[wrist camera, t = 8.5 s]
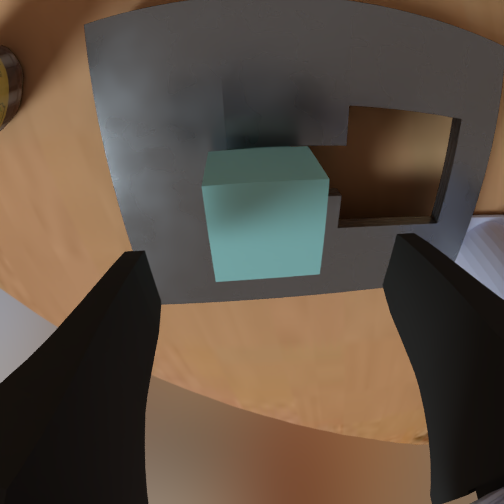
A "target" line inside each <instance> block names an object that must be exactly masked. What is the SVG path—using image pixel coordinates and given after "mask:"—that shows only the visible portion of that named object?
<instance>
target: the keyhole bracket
mask: <svg viewBox="0 0 504 504" xmlns="http://www.w3.org/2000/svg"><path fill="white" fill-rule="evenodd" d="M84 29H85V39H86V47H87V55H88V63H89V70H90V76H91V83H92V89H93V94H94V100H95V106H96V111H97V116H98V121H99V126H100V131H101V135H102V140H103V145H104V149H105V153H106V157H107V162H108V166H109V170H110V174H111V178H112V181H113V185H114V189H115V193H116V196H117V200H118V204H119V207H120V211H121V214H122V217H123V221H124V224H125V227H126V231H127V234H128V237H129V240H130V243H131V246H132V250H133V251H142V250H145V252H146V256H147V259H148V262H149V265H150V269H151V272H152V275H153V278H154V281H155V284H156V287H157V290H158V293H159V296H160V299H161V304H186V303H206V302H224V301H240V300H255V299H268V298H281V297H294V296H305V295H316V294H327V293H337V292H347V291H356V290H366V289H375V288H383V285H382V284H383V281H384V278H385V275H386V271H387V268H388V264H389V261H390V257H391V254H392V250H393V247H394V243H395V239H396V235H397V234H404V233H415V234H417V235H418V236H420V237H421V238H423V239H424V240H426V241H427V242H429V243H430V244H432V245H433V246H434V247H436V248H437V249H438V250H440V251H441V252H442V253H444V254H445V255H446V256H448V257H449V258H450V259H451V260H453V261H454V262H455V260H456V258H457V256H458V253H459V251H460V248H461V245H462V243H463V240H464V238H465V235H466V232H467V229H468V227H469V224H470V221H471V218H472V215H473V212H474V209H475V206H476V203H477V200H478V196H479V193H480V190H481V186H482V183H483V179H484V176H485V172H486V168H487V164H488V160H489V156H490V152H491V147H492V143H493V138H494V133H495V128H496V123H497V117H498V111H499V105H500V98H501V91H502V82H503V73H504V46H502V45H500V44H498V43H496V42H494V41H491V40H489V39H487V38H484V37H482V36H479V35H477V34H474V33H472V32H469V31H467V30H464V29H461V28H459V27H456V26H453V25H450V24H447V23H444V22H441V21H438V20H434V19H431V18H428V17H424V16H421V15H417V14H413V13H409V12H405V11H401V10H397V9H392V8H388V7H383V6H378V5H373V4H367V3H361V2H355V1H348V0H188V1H181V2H175V3H169V4H163V5H157V6H152V7H148V8H143V9H138V10H134V11H130V12H126V13H122V14H118V15H114V16H111V17H107V18H104V19H100V20H97V21H94V22H91V23H88V24H85V25H84ZM349 105H350V106H365V107H378V108H389V109H398V110H407V111H415V112H422V113H429V114H436V115H442V116H448V117H453V119H452V125H451V131H450V137H449V142H448V147H447V152H446V157H445V162H444V167H443V171H442V176H441V180H440V184H439V188H438V192H437V196H436V200H435V204H434V207H433V211H432V214H431V216H417V217H388V218H363V219H340V220H339V212H340V204H341V194H340V193H339V191H338V189H337V188H331V189H329V192H328V203H327V214H326V224H325V234H324V243H323V252H322V260H321V268H320V274H316V275H304V276H292V277H279V278H266V279H252V280H238V281H223V282H216V280H215V274H214V268H213V261H212V255H211V248H210V242H209V235H208V228H207V222H206V215H205V208H204V200H203V193H202V182H203V176H204V171H205V166H206V161H207V155H208V152H211V151H223V150H228V149H237V148H253V147H274V146H318V145H334V146H346V144H347V131H348V116H349Z"/></svg>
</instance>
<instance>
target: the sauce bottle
mask: <svg viewBox="0 0 504 504" xmlns="http://www.w3.org/2000/svg"><path fill="white" fill-rule="evenodd" d="M22 83H23V73H22V68H21V66H20V64H19V62H18V60H17V59H16V57H15V56H14V54H13V53H12V52H11V51H10V50H9V49H8V48H7V47H4V46H0V131H1V130H2V129H3V128H4V127H5V126H6V125H7V124H8V123H9V121H10V120H11V119H12V118H13V116H14V115H15V114H16V112H17V110H18V108H19V105H20V101H21V100H20V99H21V95H22Z"/></svg>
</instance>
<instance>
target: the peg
mask: <svg viewBox="0 0 504 504" xmlns="http://www.w3.org/2000/svg"><path fill="white" fill-rule="evenodd" d="M329 180H330V179H329V178H328V176H327V174H326V173H325V171H324V170H323V168H322V167H321V165H320V164H319V162H318V161H317V159H316V157H315V156H314V154H313V153H312V151H311V150H310V148H309V147H308V146H299V147H290V146H274V147H253V148H237V149H228V150H223V151H211V152H208V155H207V161H206V166H205V171H204V176H203V182H202V193H203V200H204V208H205V215H206V222H207V228H208V235H209V242H210V248H211V255H212V261H213V268H214V274H215V280H216V282H223V281H238V280H252V279H266V278H279V277H292V276H304V275H316V274H320V268H321V260H322V252H323V243H324V234H325V224H326V214H327V203H328V192H329Z"/></svg>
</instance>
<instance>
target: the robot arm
mask: <svg viewBox="0 0 504 504" xmlns="http://www.w3.org/2000/svg"><path fill="white" fill-rule="evenodd" d="M382 285H383V289H384V292H385V296H386V300H387V303H388V306H389V310H390V313H391V315H392V318H393V320H394V323H395V325H396V328H397V330H398V332H399V335H400V337H401V340H402V342H403V344H404V347H405V349H406V352H407V354H408V357H409V359H410V362H411V364H412V367H413V370H414V372H415V375H416V378H417V382H418V385H419V389H420V393H421V398H422V402H423V407H424V412H425V417H426V423H427V430H428V437H429V447H430V459H431V491H430V496H431V501H432V504H443V503H446V502H449V501H452V500H455V499H458V498H460V497H463V496H466V495H468V494H470V493H472V492H474V491H476V493H477V497H478V500H476V501H474V502H472V503H471V504H504V215H472V218H471V221H470V224H469V227H468V229H467V232H466V235H465V238H464V240H463V243H462V245H461V248H460V251H459V253H458V256H457V258H456V260H455V262H454V261H453V260H451V259H450V258H449V257H448V256H446V255H445V254H444V253H442V252H441V251H440V250H438V249H437V248H436V247H434V246H433V245H432V244H430V243H429V242H427V241H426V240H424V239H423V238H421V237H420V236H418V235H417V234H415V233H404V234H397V235H396V239H395V243H394V247H393V250H392V254H391V257H390V261H389V264H388V268H387V271H386V275H385V278H384V281H383V284H382ZM160 313H161V299H160V296H159V293H158V290H157V287H156V284H155V281H154V278H153V275H152V272H151V269H150V265H149V262H148V259H147V256H146V252H145V250H142V251H128V252H124V253H123V254H122V255H121V256H120V258H119V259H118V260H117V261H116V262H115V263H114V264H113V265H112V266H111V268H110V269H109V270H108V271H107V272H106V273H105V274H104V276H103V277H102V278H101V279H100V280H99V282H98V283H97V284H96V285H95V286H94V287H93V288H92V290H91V291H90V292H89V293H88V294H87V295H86V297H85V298H84V299H83V300H82V301H81V303H80V304H79V305H78V306H77V307H76V308H75V309H74V310H73V311H72V313H71V314H70V315H69V316H68V317H67V318H66V319H65V320H64V322H63V323H62V324H61V325H60V326H59V327H58V328H57V330H56V331H55V332H54V333H53V334H52V335H51V336H50V337H49V338H48V339H47V340H46V341H45V342H44V343H43V344H42V345H41V346H40V347H39V348H38V349H37V350H36V351H35V352H34V353H33V354H32V355H31V356H30V357H29V358H28V359H27V360H26V361H25V362H24V363H23V364H22V365H20V366H19V367H18V368H17V369H16V370H15V371H14V372H12V373H11V374H10V375H9V376H8V377H7V378H6V379H5V380H4V381H3V382H1V383H0V504H148V497H147V486H146V473H145V411H146V402H147V394H148V389H149V383H150V378H151V372H152V367H153V361H154V356H155V351H156V345H157V340H158V335H159V326H160Z"/></svg>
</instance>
